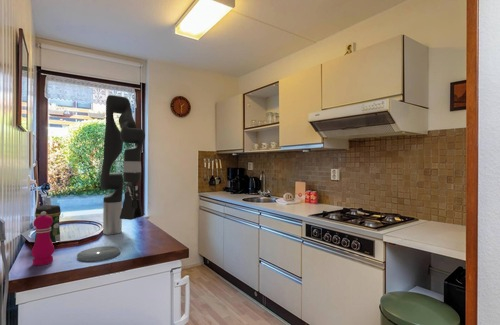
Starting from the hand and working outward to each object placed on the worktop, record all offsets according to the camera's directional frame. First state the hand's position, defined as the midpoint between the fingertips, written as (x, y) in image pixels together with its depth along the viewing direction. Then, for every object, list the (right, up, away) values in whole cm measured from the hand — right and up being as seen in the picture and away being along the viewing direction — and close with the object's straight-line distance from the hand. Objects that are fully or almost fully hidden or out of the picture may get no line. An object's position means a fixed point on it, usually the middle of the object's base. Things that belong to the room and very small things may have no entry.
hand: (132, 207), depth 126 cm
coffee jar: (-42, -18, +4) cm, 46 cm away
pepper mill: (-26, -19, -20) cm, 38 cm away
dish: (-9, -19, -10) cm, 23 cm away
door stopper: (0, -5, 0) cm, 5 cm away
